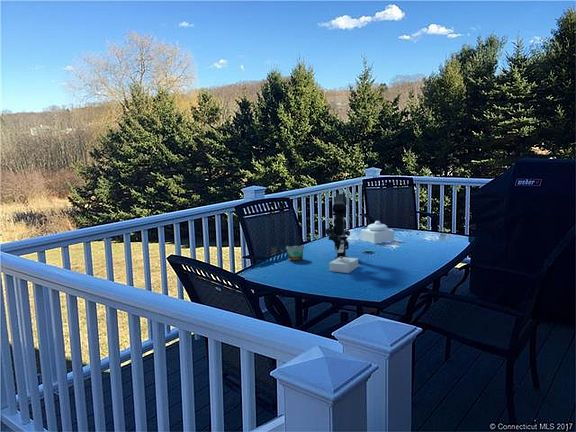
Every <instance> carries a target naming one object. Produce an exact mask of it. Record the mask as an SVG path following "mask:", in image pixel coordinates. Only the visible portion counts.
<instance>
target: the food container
mask: <svg viewBox="0 0 576 432" xmlns="http://www.w3.org/2000/svg"><path fill="white" fill-rule="evenodd" d="M285 249H286V251H287V259H288V261H289V262H294V263H296V262H297V263H298V262H302V261H303V260H304V259H303V258H304V249H305V245H304V244H302V245H292V246H289V245H286V247H285Z"/></svg>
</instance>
